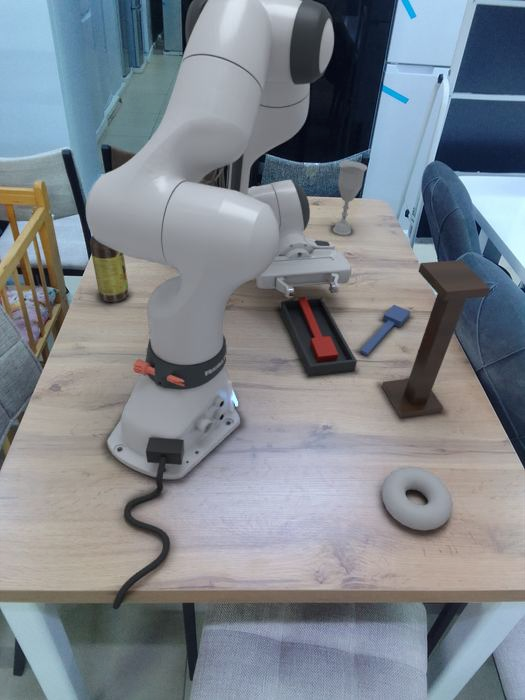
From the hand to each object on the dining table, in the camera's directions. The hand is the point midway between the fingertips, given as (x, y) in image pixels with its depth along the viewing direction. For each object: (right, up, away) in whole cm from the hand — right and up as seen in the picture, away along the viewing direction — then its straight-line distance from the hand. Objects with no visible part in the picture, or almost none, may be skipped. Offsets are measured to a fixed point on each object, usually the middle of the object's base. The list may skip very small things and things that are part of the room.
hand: (313, 292), depth 100 cm
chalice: (+12, +22, +40) cm, 47 cm away
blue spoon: (+16, -7, +6) cm, 18 cm away
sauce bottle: (-43, 0, +10) cm, 44 cm away
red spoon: (0, -8, +2) cm, 8 cm away
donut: (+12, -34, -26) cm, 45 cm away
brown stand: (+17, -20, -9) cm, 28 cm away
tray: (0, -9, +2) cm, 10 cm away
